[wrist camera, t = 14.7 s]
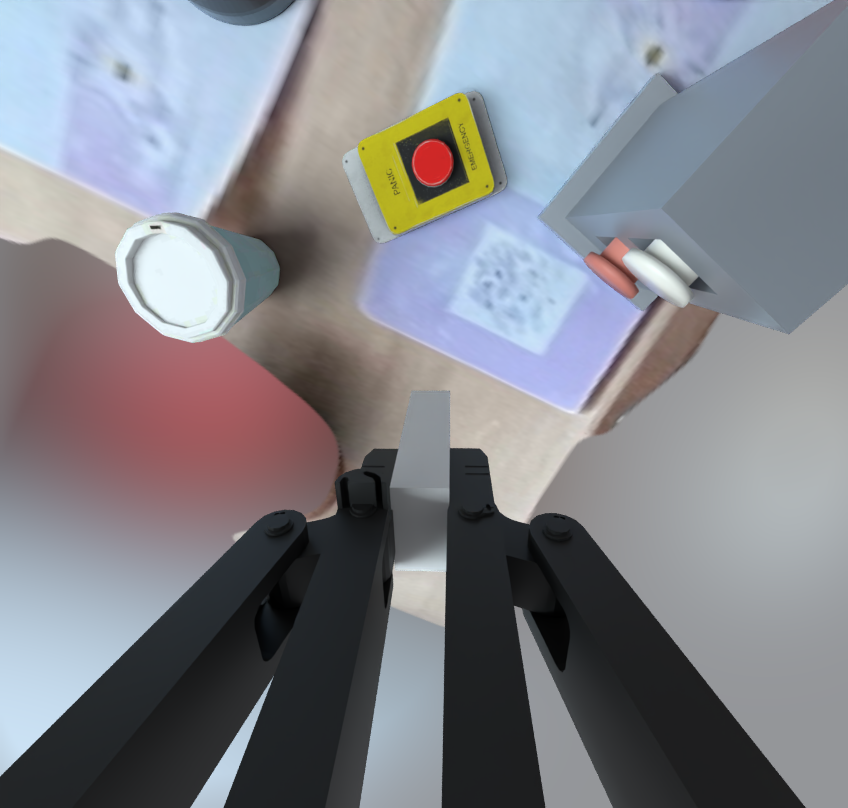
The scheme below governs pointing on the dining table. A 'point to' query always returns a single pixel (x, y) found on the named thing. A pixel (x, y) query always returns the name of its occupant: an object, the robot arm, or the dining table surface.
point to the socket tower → (732, 178)
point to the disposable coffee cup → (193, 275)
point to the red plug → (613, 268)
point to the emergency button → (426, 167)
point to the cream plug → (662, 272)
